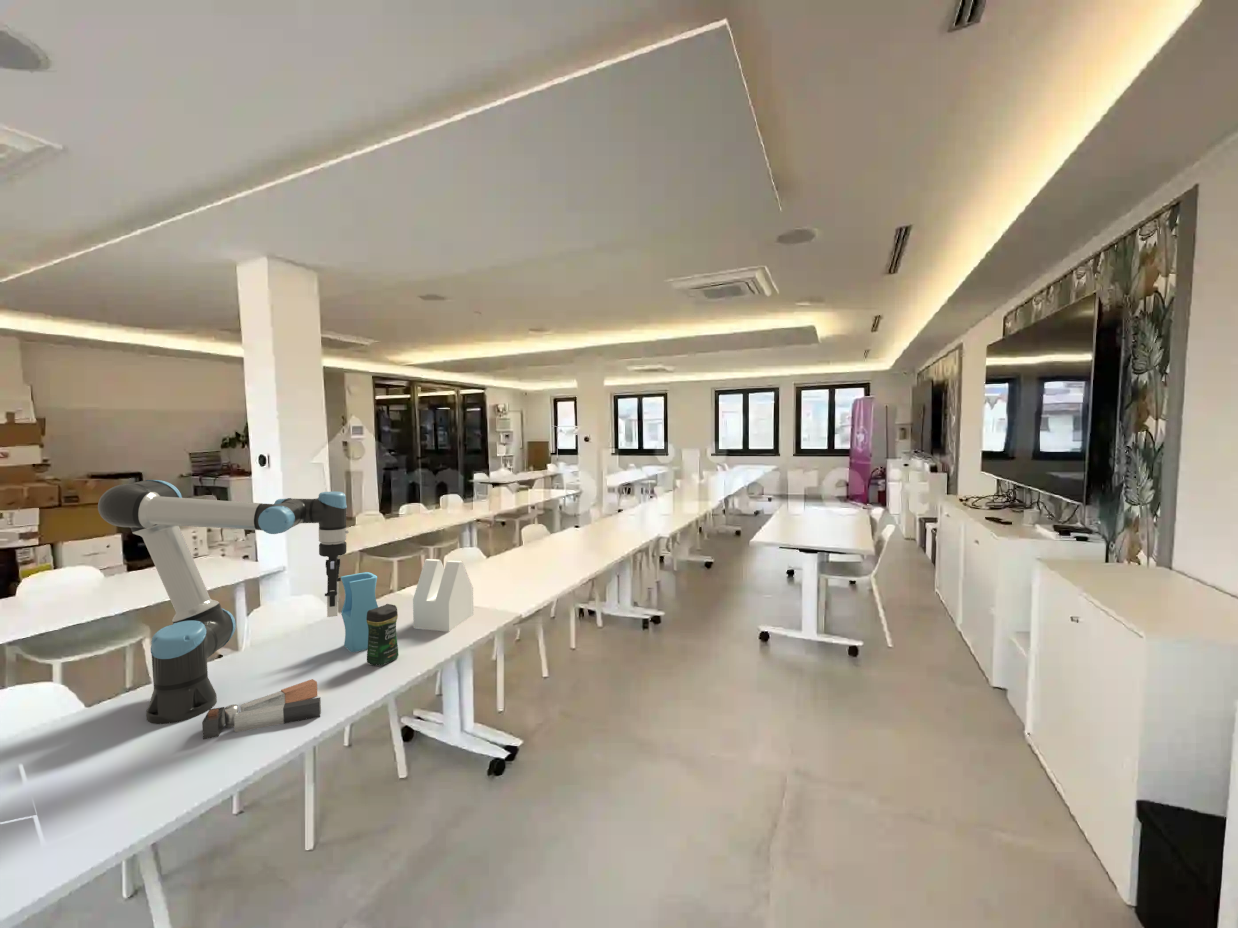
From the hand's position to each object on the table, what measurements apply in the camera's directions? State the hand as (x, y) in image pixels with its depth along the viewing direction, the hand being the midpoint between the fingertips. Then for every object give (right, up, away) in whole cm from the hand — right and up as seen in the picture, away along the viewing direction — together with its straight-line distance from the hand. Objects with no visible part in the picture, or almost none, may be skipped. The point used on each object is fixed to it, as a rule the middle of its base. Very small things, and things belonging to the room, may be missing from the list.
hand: (333, 609), depth 169 cm
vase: (-3, -20, +26) cm, 33 cm away
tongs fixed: (-5, -23, -25) cm, 35 cm away
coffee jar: (+10, -21, +13) cm, 27 cm away
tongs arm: (-7, -23, -19) cm, 30 cm away
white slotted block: (+19, -19, +50) cm, 57 cm away
